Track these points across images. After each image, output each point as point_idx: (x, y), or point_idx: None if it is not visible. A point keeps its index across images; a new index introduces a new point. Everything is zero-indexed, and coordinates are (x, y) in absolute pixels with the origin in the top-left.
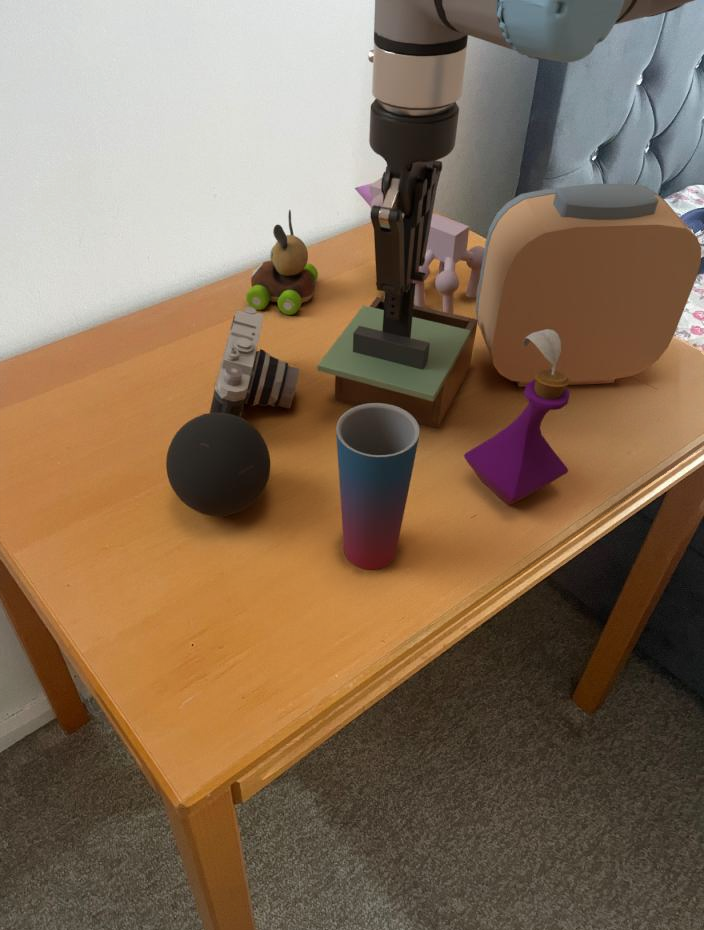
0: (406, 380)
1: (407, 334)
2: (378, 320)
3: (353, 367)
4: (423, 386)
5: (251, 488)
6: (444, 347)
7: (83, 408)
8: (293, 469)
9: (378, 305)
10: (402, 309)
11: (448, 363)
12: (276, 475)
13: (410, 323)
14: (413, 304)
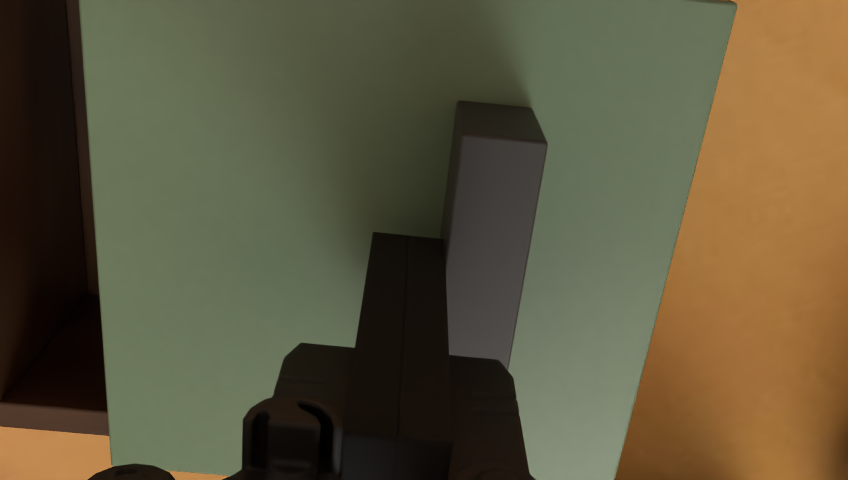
0: (639, 162)
1: (428, 263)
2: (202, 384)
3: (593, 390)
4: (671, 73)
5: None
6: (300, 43)
7: None
8: (800, 350)
9: (30, 399)
10: (457, 386)
11: None
12: (832, 383)
13: (393, 282)
14: (357, 337)
